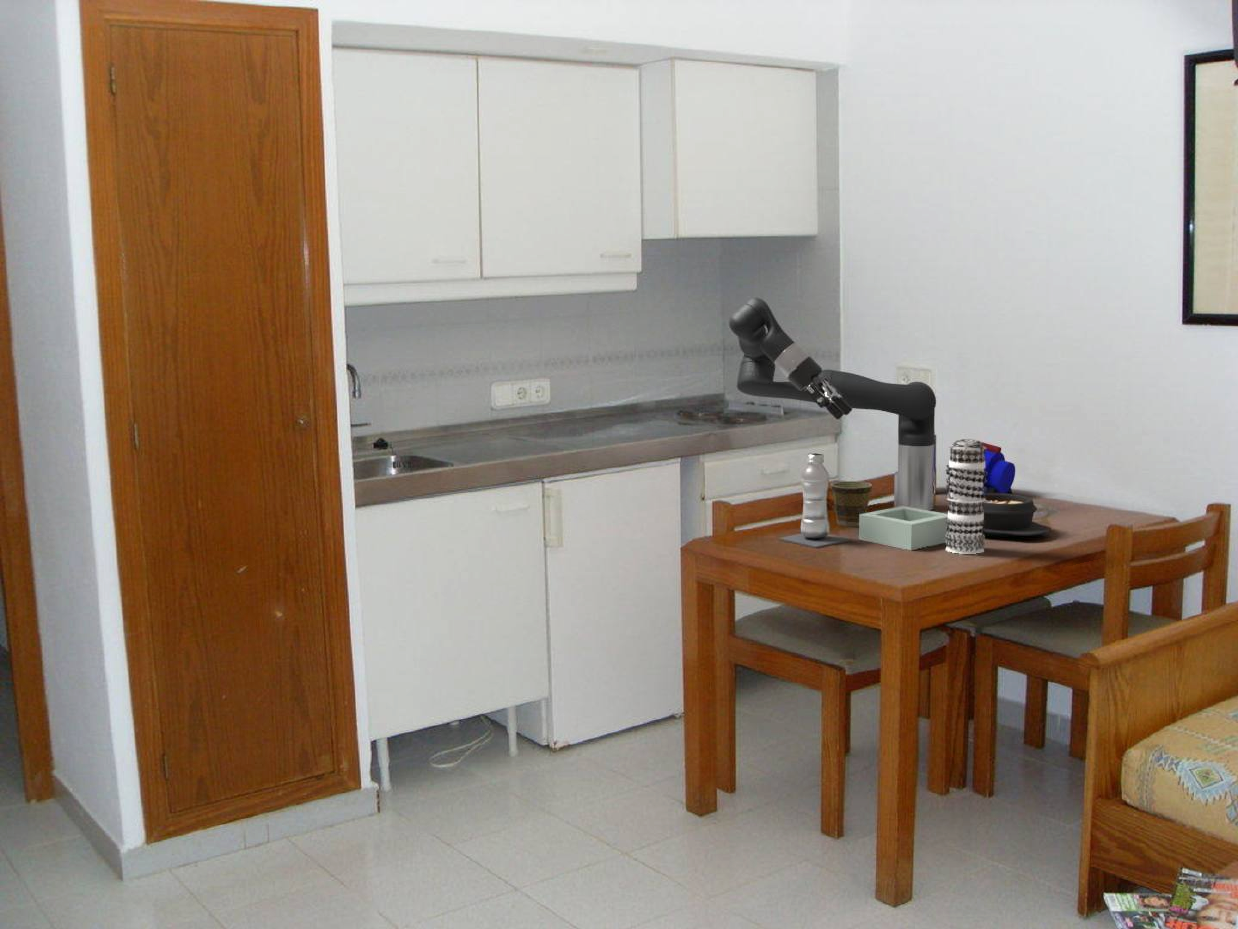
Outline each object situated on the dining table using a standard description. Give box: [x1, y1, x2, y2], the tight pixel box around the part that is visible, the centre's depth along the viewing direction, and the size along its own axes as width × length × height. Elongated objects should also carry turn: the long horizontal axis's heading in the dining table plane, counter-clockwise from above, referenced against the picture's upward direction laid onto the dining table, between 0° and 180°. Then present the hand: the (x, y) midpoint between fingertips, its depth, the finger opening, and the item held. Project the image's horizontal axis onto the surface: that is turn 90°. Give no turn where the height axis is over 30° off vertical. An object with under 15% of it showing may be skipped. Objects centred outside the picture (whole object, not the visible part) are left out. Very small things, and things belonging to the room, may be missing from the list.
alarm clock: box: [981, 441, 1016, 494], centre depth 357 cm, size 12×12×15 cm
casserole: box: [982, 493, 1052, 538], centre depth 310 cm, size 25×19×8 cm
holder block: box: [858, 506, 949, 551], centre depth 304 cm, size 16×16×6 cm
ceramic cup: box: [827, 480, 873, 528], centre depth 322 cm, size 13×10×10 cm
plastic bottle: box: [800, 452, 830, 539], centre depth 304 cm, size 6×7×20 cm
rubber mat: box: [778, 533, 853, 549], centre depth 305 cm, size 12×12×1 cm
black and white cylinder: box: [945, 438, 988, 555], centre depth 291 cm, size 9×9×25 cm
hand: (845, 414), depth 307 cm, fingers open, 8 cm apart
